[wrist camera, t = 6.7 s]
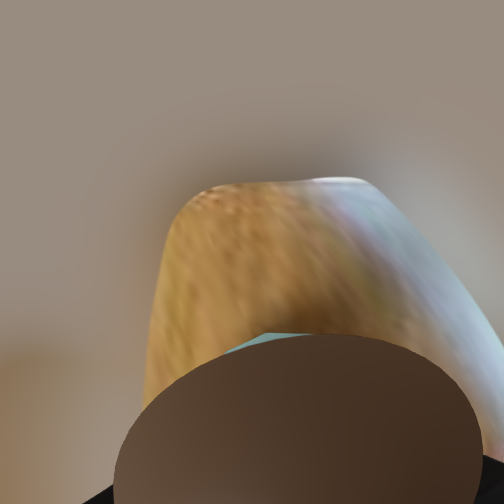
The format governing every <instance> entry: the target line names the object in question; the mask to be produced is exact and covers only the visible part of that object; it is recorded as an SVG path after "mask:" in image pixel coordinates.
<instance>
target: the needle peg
mask: <svg viewBox="0 0 504 504" xmlns="http://www.w3.org/2000/svg"><path fill="white" fill-rule="evenodd" d="M482 467H483V445H482V438H481V431H480V427H479V424H478V421H477V418H476V415H475V412H474V410H473V408H472V406H471V404H470V402H469V401H468V399H467V397H466V396H465V394H464V393H463V392H462V390H461V389H460V388H459V386H458V385H457V384H456V382H455V381H454V380H453V379H451V378H450V377H449V376H448V375H447V374H446V373H445V372H444V371H443V370H442V369H441V368H439V367H438V366H436V365H435V364H433V363H432V362H430V361H429V360H428V359H426V358H425V357H423V356H421V355H418V354H416V353H414V352H412V351H410V350H408V349H406V348H404V347H401V346H398V345H394V344H391V343H388V342H385V341H382V340H377V339H371V338H366V337H361V336H352V335H338V334H320V335H301V336H294V337H287V338H279V339H274V340H270V341H266V342H262V343H258V344H254V345H249V346H247V347H244V348H241V349H238V350H235V351H233V352H230V353H227V354H224V355H222V356H220V357H218V358H215V359H213V360H211V361H209V362H207V363H205V364H203V365H201V366H199V367H197V368H195V369H194V370H192V371H191V372H189V373H188V374H186V375H184V376H183V377H181V378H179V379H178V380H176V381H175V382H174V383H173V384H171V385H170V386H169V387H168V388H166V389H165V390H164V391H163V392H162V393H160V394H159V395H158V396H157V397H156V398H155V399H154V400H153V401H152V402H151V403H150V404H149V405H148V406H147V407H146V408H145V410H144V411H143V412H142V413H141V414H140V416H139V417H138V419H137V420H136V421H135V423H134V424H133V426H132V427H131V429H130V430H129V432H128V434H127V436H126V439H125V441H124V442H123V444H122V446H121V449H120V452H119V455H118V459H117V462H116V466H115V473H114V482H113V492H114V504H473V503H474V500H475V497H476V494H477V491H478V488H479V484H480V479H481V473H482Z"/></svg>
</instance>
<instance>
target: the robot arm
mask: <svg viewBox="0 0 504 504" xmlns="http://www.w3.org/2000/svg"><path fill="white" fill-rule="evenodd" d="M83 504H114V492H113V485H111V486H110V487H108V488H107V489H105V490H103V491H102V492H101V493H99V494H97V495H96V496H94V497H93V498H91V499H89V500H88V501H86V502H85V503H83ZM473 504H504V463H503V462H500V461H498V460H495V459H493V458H491V457H488V456H486V455H484V454H483V467H482V473H481V479H480V484H479V488H478V491H477V494H476V497H475V500H474V503H473Z"/></svg>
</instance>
